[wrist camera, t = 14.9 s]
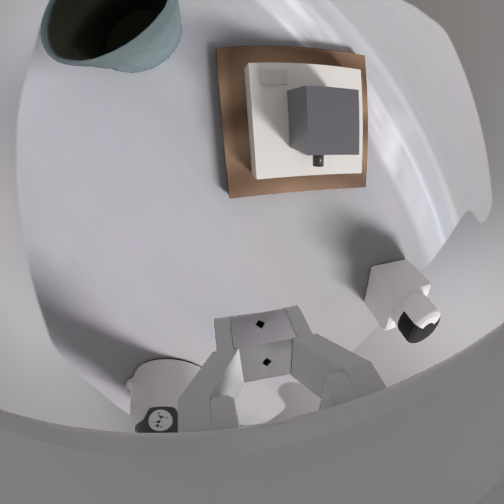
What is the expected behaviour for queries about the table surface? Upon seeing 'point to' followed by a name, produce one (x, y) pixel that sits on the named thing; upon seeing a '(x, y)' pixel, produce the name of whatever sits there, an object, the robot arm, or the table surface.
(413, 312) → the medicine bottle
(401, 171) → the table surface
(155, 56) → the teal cup
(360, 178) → the mounting board
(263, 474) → the robot arm
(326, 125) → the plug
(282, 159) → the socket
